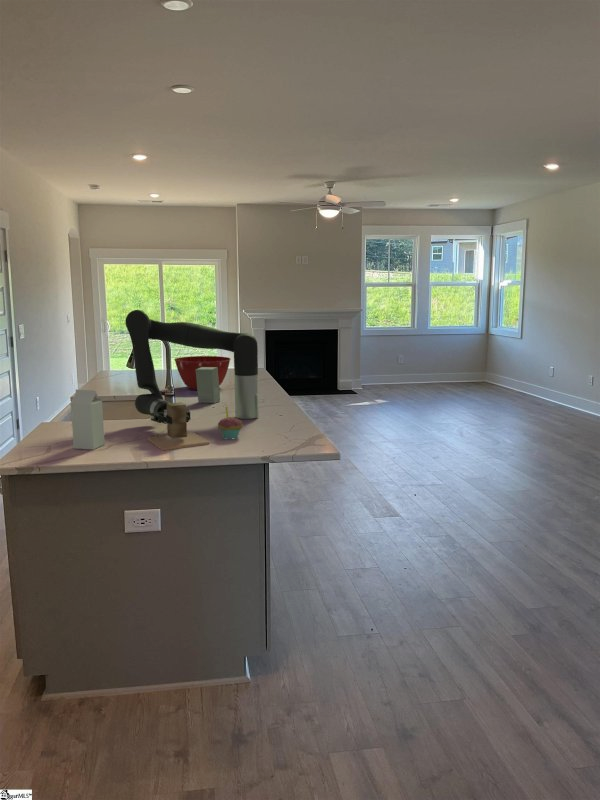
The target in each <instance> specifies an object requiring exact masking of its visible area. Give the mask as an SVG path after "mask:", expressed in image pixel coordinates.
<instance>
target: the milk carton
mask: <svg viewBox="0 0 600 800" xmlns="http://www.w3.org/2000/svg"><path fill="white" fill-rule="evenodd" d="M70 414H71V428H72V440H73V441H72V442H73V449H74V450H75V449H76V450H96V449H98V448H100V447H102V446H103V445H105V427H104V413H103V401H102V399H101V398H100V396H99V395H98V394H97V390H96V389H75V393H74V395H73V397H72V400H71V402H70Z"/></svg>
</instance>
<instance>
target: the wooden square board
mask: <svg viewBox="0 0 600 800" xmlns="http://www.w3.org/2000/svg"><path fill="white" fill-rule="evenodd" d="M147 441H149V442H150V443H152V444H153V445H154V446H155V447H157V448H159V449H160V450H161V451H169V450H175V449H184V448H189V447H190V448H191V447H199V446H205V445H206V446H207V445H210V441H209V440H207V439H205V438H204V437H202V436H200V435H198V434H196V433H195V432H194V431H193V432H192V431H189V432H187V437H182V438H174V439H172V438H171V437H169V436H168V434H166V435H158V436H151V437H150V436H149V437H147Z"/></svg>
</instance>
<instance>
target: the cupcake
mask: <svg viewBox="0 0 600 800" xmlns="http://www.w3.org/2000/svg"><path fill="white" fill-rule="evenodd" d="M225 413H226V414H225V415H226V417H224V418H222V419H220V420H219V421H218V423H217V425H218V426H217V427H218V430H220V431H221V433H222V437H223V439H225V438H227V439H226V440H233V439H232V438H236V439H238V438H239V433H240V431H241V429H242V428H243V422H242V419H240V418H236V417H234V416H232V417H230V416H229V410H228V406H225Z"/></svg>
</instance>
